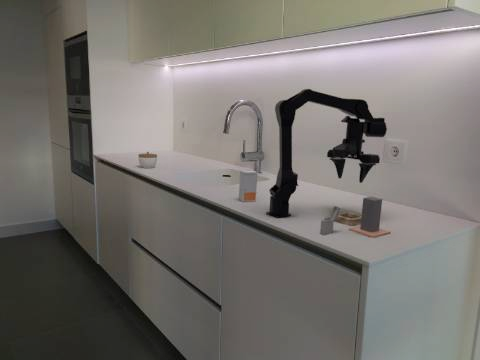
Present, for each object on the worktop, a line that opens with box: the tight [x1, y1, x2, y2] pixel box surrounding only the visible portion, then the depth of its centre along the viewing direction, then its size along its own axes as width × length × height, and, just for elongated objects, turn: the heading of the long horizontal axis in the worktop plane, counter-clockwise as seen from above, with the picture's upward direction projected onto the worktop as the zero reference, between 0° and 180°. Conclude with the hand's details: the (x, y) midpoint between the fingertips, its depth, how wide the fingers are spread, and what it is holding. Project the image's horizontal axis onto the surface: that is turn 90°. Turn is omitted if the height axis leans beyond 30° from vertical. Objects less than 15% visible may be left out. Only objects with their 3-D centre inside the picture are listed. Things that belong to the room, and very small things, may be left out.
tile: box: [348, 225, 391, 239], centre depth 125 cm, size 9×9×1 cm
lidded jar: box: [138, 151, 158, 169], centre depth 236 cm, size 11×11×9 cm
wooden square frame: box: [334, 211, 362, 227], centre depth 136 cm, size 8×8×2 cm
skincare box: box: [238, 170, 258, 203], centre depth 160 cm, size 6×4×12 cm
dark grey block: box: [360, 196, 383, 232], centre depth 125 cm, size 4×4×10 cm
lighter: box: [319, 205, 342, 236], centre depth 122 cm, size 7×2×8 cm, turn 129°
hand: (350, 180), depth 142 cm, fingers open, 9 cm apart
